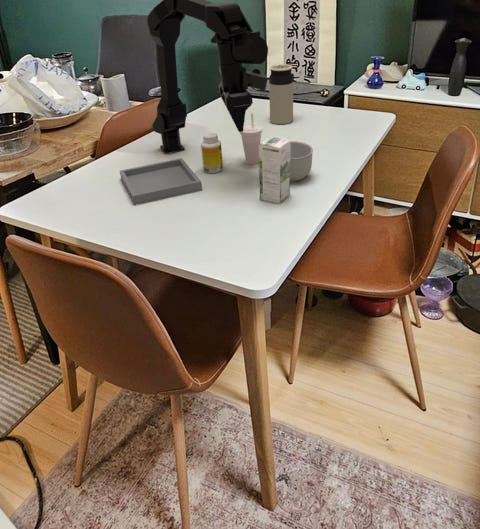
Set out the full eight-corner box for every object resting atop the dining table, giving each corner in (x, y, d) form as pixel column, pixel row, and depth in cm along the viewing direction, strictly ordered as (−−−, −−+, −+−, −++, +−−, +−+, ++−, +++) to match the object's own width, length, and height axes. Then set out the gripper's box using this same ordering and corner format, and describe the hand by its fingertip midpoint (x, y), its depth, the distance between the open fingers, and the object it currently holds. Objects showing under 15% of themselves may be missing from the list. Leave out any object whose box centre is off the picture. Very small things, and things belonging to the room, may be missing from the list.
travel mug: (293, 124, 167) (294, 68, 157) (270, 125, 167) (269, 70, 157) (292, 116, 174) (292, 63, 164) (269, 118, 174) (268, 64, 164)
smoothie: (261, 166, 139) (259, 117, 131) (239, 165, 140) (236, 117, 133) (265, 157, 144) (263, 109, 136) (243, 157, 146) (240, 109, 138)
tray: (121, 178, 138) (119, 170, 136) (182, 166, 143) (181, 158, 141) (134, 205, 124) (132, 196, 122) (202, 190, 129) (201, 181, 127)
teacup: (315, 170, 135) (316, 142, 130) (307, 187, 126) (307, 157, 122) (267, 166, 139) (266, 139, 134) (255, 182, 131) (254, 154, 126)
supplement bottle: (224, 172, 137) (222, 136, 131) (205, 175, 136) (201, 139, 131) (221, 164, 142) (218, 130, 136) (202, 167, 141) (198, 132, 135)
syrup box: (270, 190, 126) (268, 135, 118) (291, 194, 123) (291, 138, 115) (259, 200, 122) (257, 143, 114) (280, 204, 119) (280, 147, 111)
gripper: (271, 63, 111) (276, 131, 119) (257, 53, 127) (262, 113, 135) (222, 70, 111) (231, 138, 119) (214, 59, 127) (222, 119, 135)
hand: (238, 126), depth 127 cm, fingers open, 9 cm apart
